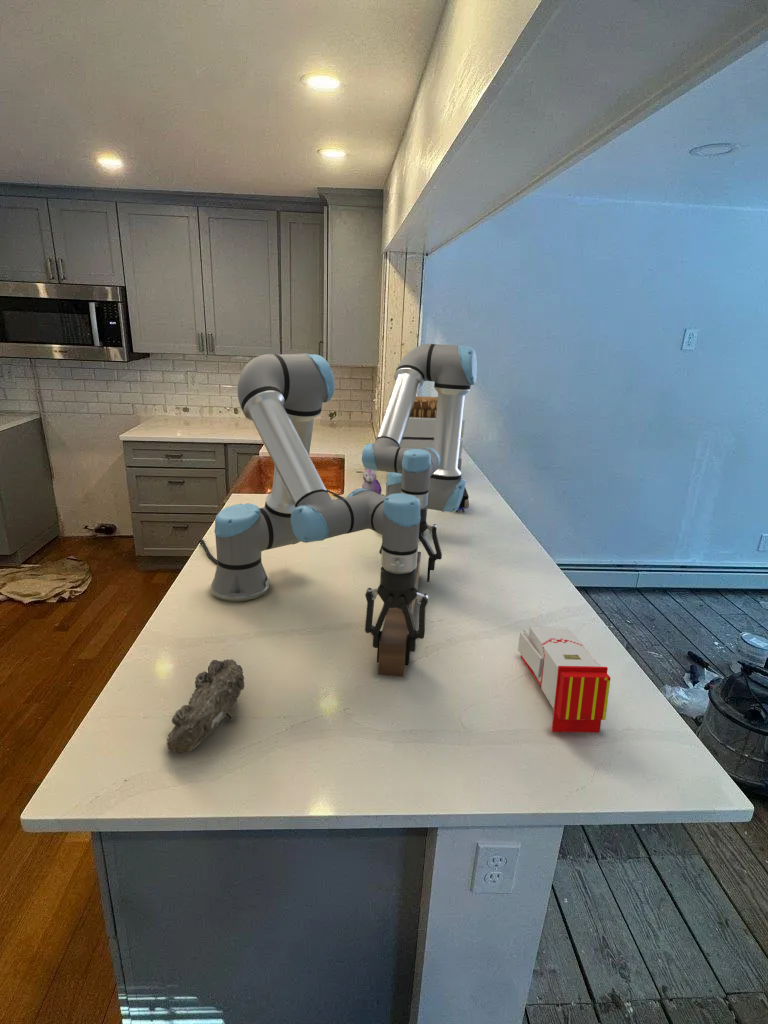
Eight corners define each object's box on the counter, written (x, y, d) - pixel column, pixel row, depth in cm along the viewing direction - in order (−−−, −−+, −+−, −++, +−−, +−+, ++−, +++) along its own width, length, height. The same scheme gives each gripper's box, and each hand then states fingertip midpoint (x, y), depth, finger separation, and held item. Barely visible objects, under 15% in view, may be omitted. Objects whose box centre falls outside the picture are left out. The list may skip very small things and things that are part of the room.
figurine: (366, 502, 230) (367, 466, 225) (355, 494, 239) (356, 460, 234) (386, 499, 235) (388, 464, 229) (375, 492, 243) (377, 458, 238)
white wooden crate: (382, 463, 289) (386, 382, 275) (445, 464, 293) (451, 384, 279) (390, 482, 257) (394, 392, 243) (460, 483, 261) (468, 394, 247)
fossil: (192, 660, 117) (244, 628, 112) (224, 691, 120) (276, 661, 115) (142, 746, 98) (202, 712, 93) (182, 779, 101) (242, 748, 96)
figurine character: (469, 517, 223) (463, 501, 236) (471, 500, 219) (465, 484, 233) (452, 516, 222) (447, 500, 236) (454, 499, 219) (449, 483, 232)
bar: (400, 574, 169) (402, 550, 167) (419, 576, 169) (421, 551, 166) (377, 674, 123) (379, 642, 120) (403, 677, 122) (405, 645, 120)
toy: (564, 611, 133) (619, 673, 103) (558, 664, 135) (611, 739, 106) (512, 610, 132) (554, 672, 103) (508, 663, 135) (547, 738, 106)
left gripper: (351, 570, 117) (349, 666, 124) (442, 579, 115) (434, 675, 122) (358, 555, 124) (355, 647, 131) (443, 563, 122) (435, 656, 129)
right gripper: (370, 506, 154) (367, 579, 162) (455, 513, 152) (448, 587, 159) (374, 498, 161) (371, 568, 169) (455, 504, 159) (449, 576, 166)
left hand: (393, 660), depth 127 cm, fingers closed on bar, 6 cm apart
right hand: (409, 578), depth 164 cm, fingers open, 10 cm apart
